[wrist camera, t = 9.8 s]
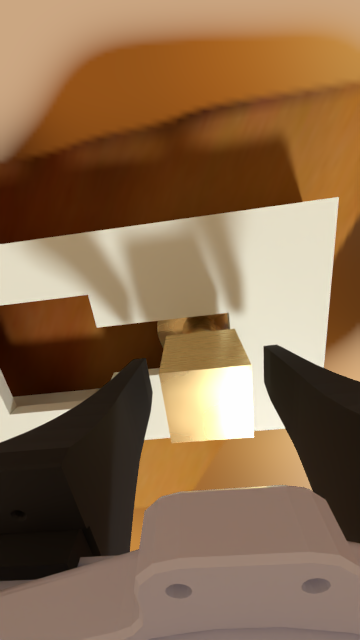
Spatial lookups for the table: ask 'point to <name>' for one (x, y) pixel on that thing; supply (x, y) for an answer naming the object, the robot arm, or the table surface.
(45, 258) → the keyhole plate
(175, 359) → the keyhole peg
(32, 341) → the table surface
